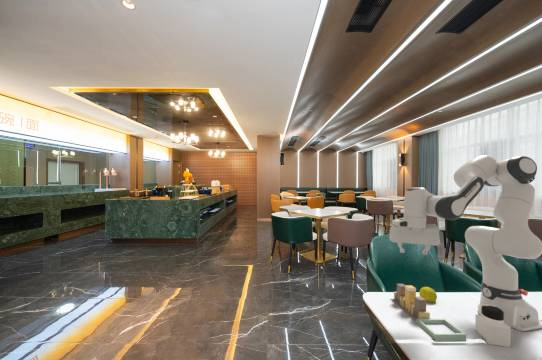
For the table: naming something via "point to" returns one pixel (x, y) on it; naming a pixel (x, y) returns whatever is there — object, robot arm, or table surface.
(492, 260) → the robot arm
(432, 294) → the tennis ball
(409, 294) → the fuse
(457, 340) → the tray
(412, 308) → the holder
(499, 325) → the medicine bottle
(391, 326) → the table surface
